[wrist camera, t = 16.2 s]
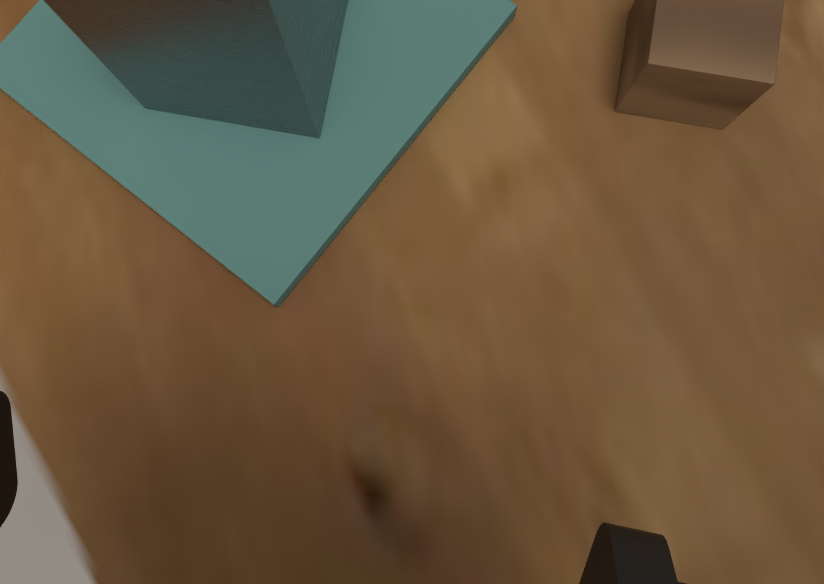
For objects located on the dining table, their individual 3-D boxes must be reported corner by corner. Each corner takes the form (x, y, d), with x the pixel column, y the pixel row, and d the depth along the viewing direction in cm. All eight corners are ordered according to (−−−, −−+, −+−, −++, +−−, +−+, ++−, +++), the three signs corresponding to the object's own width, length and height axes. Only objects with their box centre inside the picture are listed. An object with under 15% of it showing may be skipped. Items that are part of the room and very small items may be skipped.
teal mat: (230, -187, 29) (225, -203, 28) (514, 16, 27) (517, 5, 27) (-11, 79, 27) (-24, 69, 26) (278, 307, 26) (273, 304, 25)
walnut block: (628, 13, 27) (664, -52, 23) (733, 30, 27) (787, -32, 23) (614, 112, 27) (648, 63, 23) (721, 130, 27) (774, 83, 23)
